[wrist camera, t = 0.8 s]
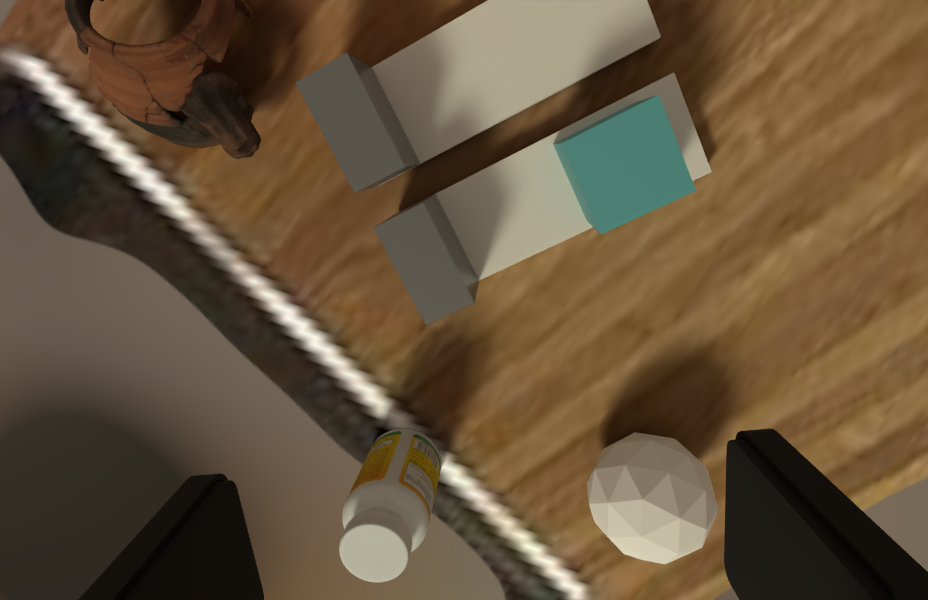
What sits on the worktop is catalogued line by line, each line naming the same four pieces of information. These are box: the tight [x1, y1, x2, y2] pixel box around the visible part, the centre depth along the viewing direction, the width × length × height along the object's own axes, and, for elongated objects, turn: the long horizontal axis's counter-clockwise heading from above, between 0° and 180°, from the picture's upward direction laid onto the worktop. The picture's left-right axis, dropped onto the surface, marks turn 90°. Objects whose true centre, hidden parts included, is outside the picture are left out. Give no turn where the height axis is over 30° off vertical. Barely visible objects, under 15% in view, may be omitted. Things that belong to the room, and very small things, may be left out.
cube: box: [553, 95, 696, 234], centre depth 29 cm, size 5×5×5 cm
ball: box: [587, 432, 718, 564], centre depth 34 cm, size 8×8×8 cm
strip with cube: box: [374, 73, 711, 325], centre depth 30 cm, size 18×6×6 cm, turn 117°
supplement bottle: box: [339, 428, 441, 582], centre depth 34 cm, size 5×5×10 cm
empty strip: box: [296, 0, 661, 193], centre depth 28 cm, size 18×6×6 cm, turn 117°
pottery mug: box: [65, 0, 261, 159], centre depth 30 cm, size 12×10×8 cm
